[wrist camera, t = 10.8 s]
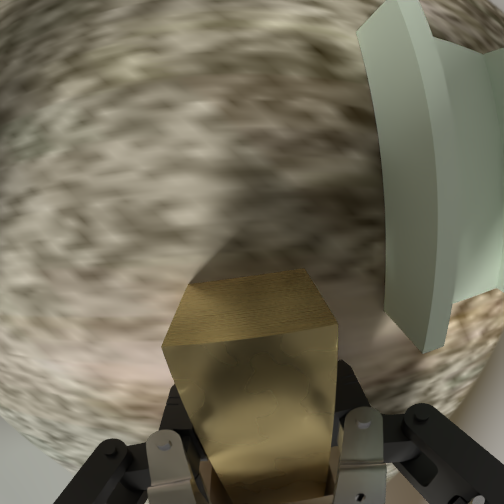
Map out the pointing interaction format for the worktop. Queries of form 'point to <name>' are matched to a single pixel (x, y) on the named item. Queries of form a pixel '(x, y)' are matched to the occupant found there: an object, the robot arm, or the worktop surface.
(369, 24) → the cradle
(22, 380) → the worktop surface
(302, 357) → the long yellowish block
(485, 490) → the robot arm
